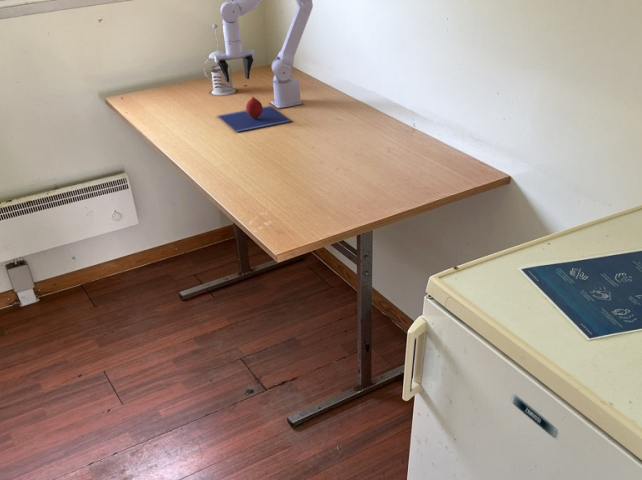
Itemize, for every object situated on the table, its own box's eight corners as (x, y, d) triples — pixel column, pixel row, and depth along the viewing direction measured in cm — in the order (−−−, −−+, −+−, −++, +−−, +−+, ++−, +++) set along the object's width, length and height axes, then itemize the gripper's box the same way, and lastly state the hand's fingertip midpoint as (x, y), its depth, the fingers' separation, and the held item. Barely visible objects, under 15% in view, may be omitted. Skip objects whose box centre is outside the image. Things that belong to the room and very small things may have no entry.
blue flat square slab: (269, 107, 247) (269, 105, 247) (291, 122, 232) (291, 120, 232) (218, 116, 240) (218, 115, 240) (238, 132, 225) (237, 131, 225)
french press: (234, 94, 261) (225, 26, 246) (204, 95, 261) (194, 27, 246) (237, 87, 268) (229, 20, 254) (209, 88, 269) (199, 21, 254)
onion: (264, 116, 237) (262, 93, 233) (262, 121, 233) (260, 98, 228) (248, 116, 238) (245, 93, 233) (246, 121, 233) (243, 98, 228)
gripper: (248, 35, 237) (252, 74, 246) (209, 40, 232) (214, 80, 240) (255, 38, 232) (259, 78, 240) (215, 44, 227) (221, 85, 235)
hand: (237, 80), depth 240 cm, fingers open, 7 cm apart
